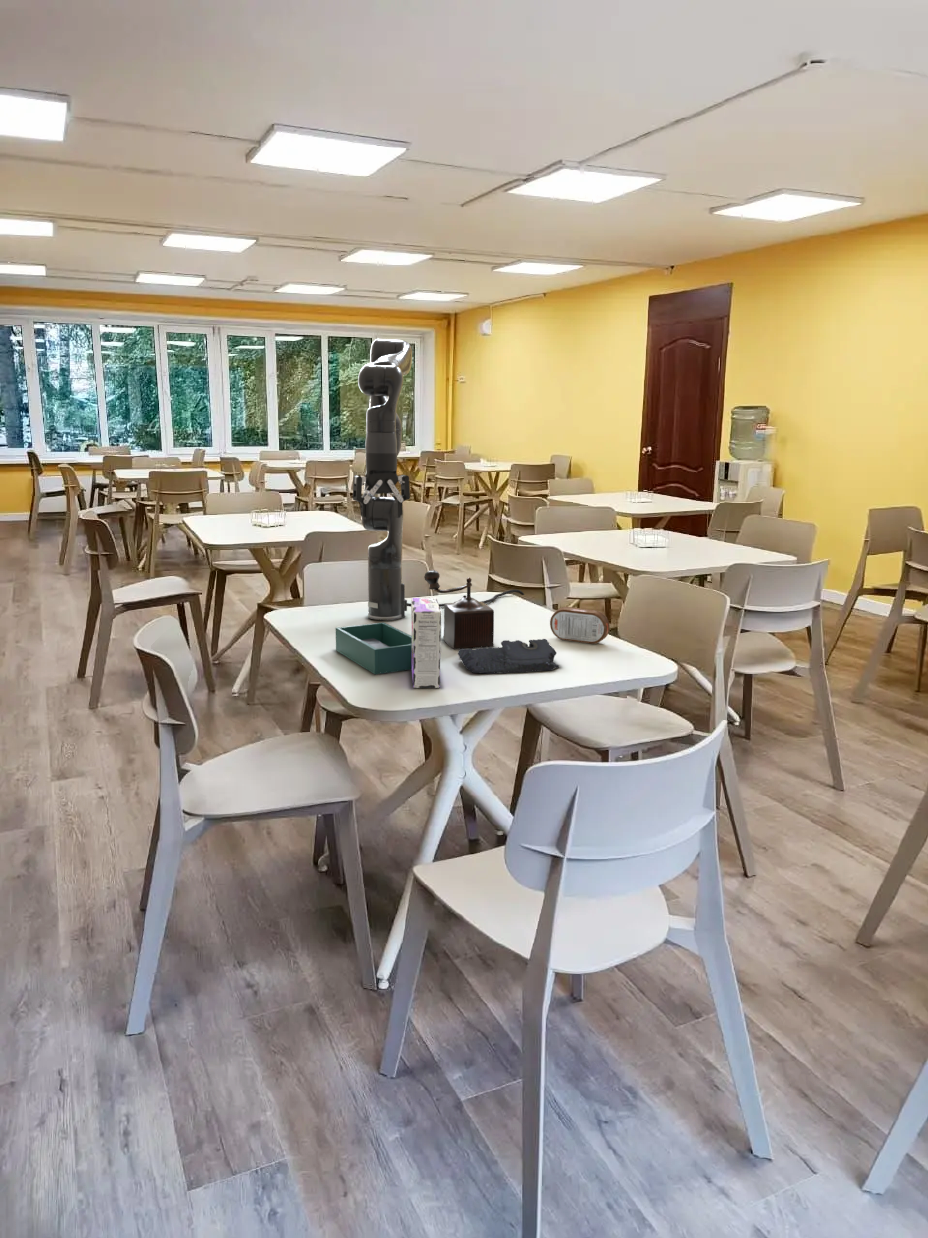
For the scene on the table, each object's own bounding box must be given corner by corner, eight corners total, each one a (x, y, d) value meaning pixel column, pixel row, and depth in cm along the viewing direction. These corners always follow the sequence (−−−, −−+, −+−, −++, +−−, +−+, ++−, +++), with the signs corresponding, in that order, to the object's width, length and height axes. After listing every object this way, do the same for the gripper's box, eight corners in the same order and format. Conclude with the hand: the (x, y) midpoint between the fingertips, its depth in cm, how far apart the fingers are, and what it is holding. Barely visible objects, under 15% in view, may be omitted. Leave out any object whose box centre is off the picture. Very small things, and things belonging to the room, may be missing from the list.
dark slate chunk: (452, 657, 207) (452, 637, 205) (541, 652, 212) (542, 633, 211) (468, 675, 192) (469, 654, 191) (564, 670, 197) (565, 649, 196)
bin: (384, 644, 217) (383, 622, 216) (426, 667, 198) (426, 643, 197) (335, 650, 211) (335, 627, 210) (374, 674, 192) (374, 649, 191)
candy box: (410, 669, 196) (410, 596, 192) (437, 669, 196) (438, 596, 193) (412, 688, 183) (412, 610, 179) (440, 688, 183) (441, 610, 179)
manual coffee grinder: (481, 636, 226) (482, 566, 222) (494, 647, 216) (496, 574, 212) (422, 639, 222) (422, 568, 218) (432, 650, 212) (433, 576, 208)
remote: (374, 647, 212) (374, 637, 212) (403, 663, 199) (403, 653, 198) (356, 649, 210) (356, 639, 210) (385, 665, 197) (385, 655, 196)
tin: (609, 643, 221) (610, 610, 219) (605, 646, 218) (607, 613, 216) (552, 636, 227) (553, 604, 225) (547, 639, 224) (549, 606, 222)
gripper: (360, 452, 207) (361, 521, 211) (414, 451, 214) (414, 518, 218) (347, 450, 213) (348, 518, 217) (401, 450, 220) (401, 515, 224)
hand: (381, 518), depth 217 cm, fingers open, 8 cm apart
